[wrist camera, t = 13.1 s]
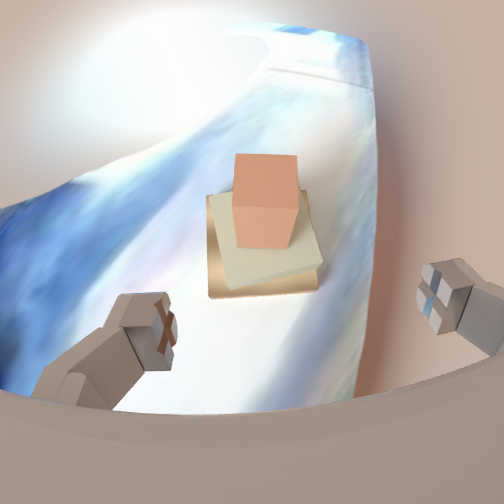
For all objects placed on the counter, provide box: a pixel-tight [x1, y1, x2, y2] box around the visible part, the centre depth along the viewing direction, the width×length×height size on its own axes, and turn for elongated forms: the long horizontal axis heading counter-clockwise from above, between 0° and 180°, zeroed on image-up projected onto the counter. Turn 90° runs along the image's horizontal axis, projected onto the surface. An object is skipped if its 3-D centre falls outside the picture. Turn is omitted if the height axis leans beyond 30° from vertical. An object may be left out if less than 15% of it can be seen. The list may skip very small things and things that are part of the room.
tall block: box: [232, 154, 299, 249], centre depth 25 cm, size 4×4×8 cm
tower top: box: [209, 185, 323, 290], centre depth 30 cm, size 9×9×3 cm
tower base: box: [206, 190, 319, 299], centre depth 33 cm, size 11×11×3 cm
